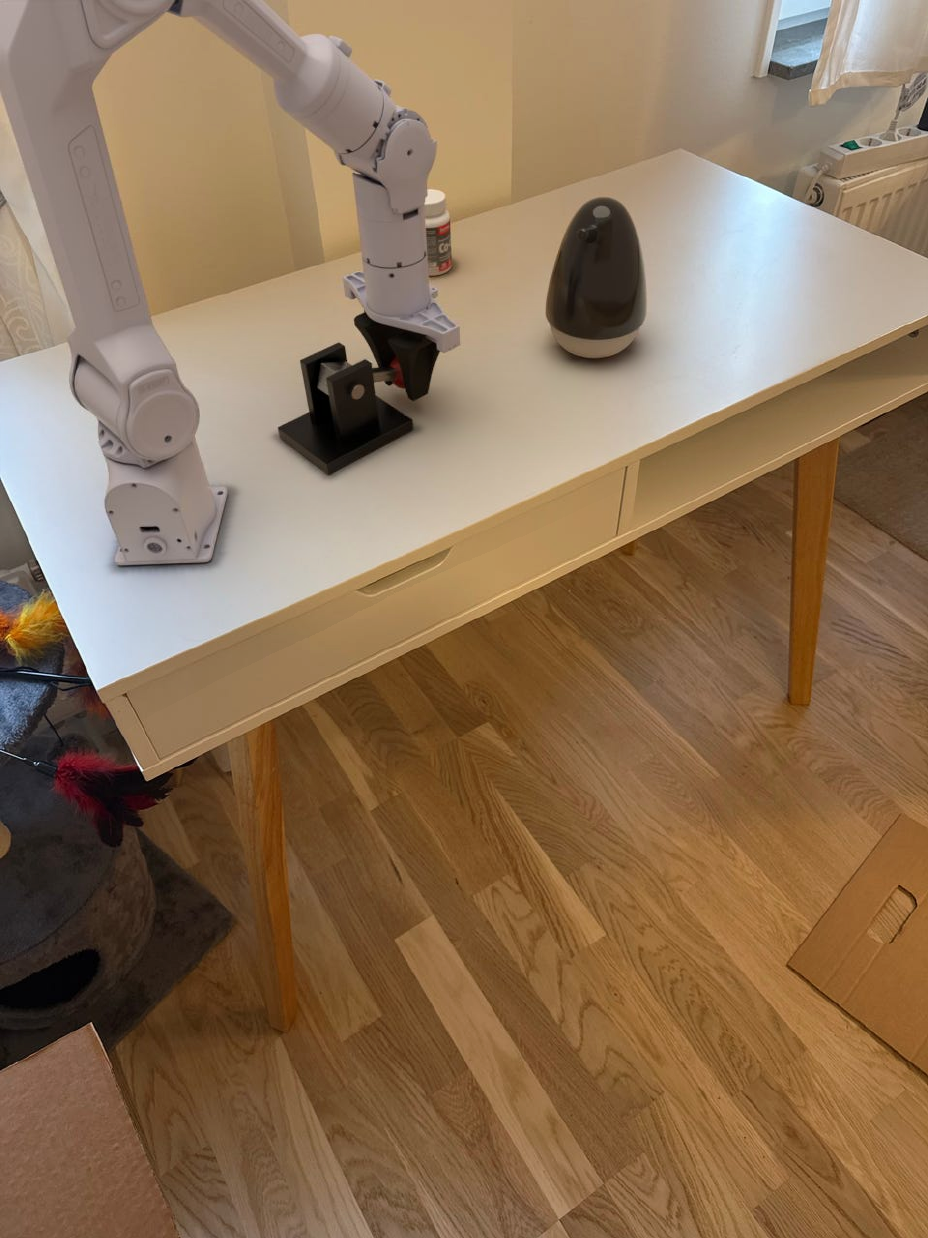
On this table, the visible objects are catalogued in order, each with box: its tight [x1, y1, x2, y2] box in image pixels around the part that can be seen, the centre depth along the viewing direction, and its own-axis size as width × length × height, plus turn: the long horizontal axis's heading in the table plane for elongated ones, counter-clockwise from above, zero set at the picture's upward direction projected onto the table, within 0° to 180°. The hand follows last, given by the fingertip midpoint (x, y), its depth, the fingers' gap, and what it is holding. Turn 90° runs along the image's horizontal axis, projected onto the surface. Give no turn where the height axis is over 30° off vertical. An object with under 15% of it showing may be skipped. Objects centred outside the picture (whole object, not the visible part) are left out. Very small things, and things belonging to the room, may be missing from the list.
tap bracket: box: [277, 341, 414, 476], centre depth 86 cm, size 10×8×8 cm
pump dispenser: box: [545, 196, 648, 359], centre depth 92 cm, size 10×10×15 cm
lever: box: [318, 357, 405, 395], centre depth 87 cm, size 11×3×3 cm, turn 132°
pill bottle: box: [424, 188, 453, 277], centre depth 108 cm, size 5×5×8 cm
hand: (406, 388), depth 91 cm, fingers closed on lever, 3 cm apart
